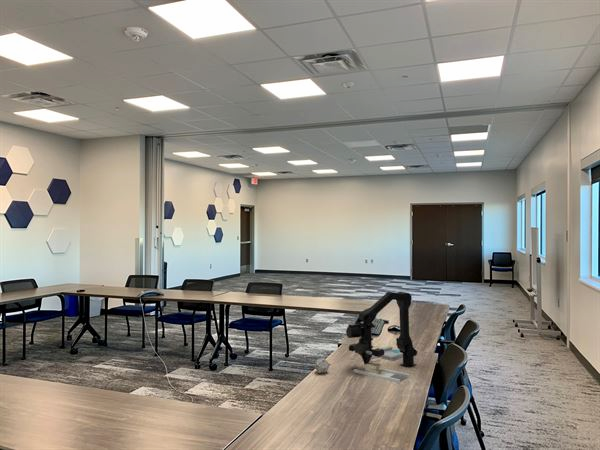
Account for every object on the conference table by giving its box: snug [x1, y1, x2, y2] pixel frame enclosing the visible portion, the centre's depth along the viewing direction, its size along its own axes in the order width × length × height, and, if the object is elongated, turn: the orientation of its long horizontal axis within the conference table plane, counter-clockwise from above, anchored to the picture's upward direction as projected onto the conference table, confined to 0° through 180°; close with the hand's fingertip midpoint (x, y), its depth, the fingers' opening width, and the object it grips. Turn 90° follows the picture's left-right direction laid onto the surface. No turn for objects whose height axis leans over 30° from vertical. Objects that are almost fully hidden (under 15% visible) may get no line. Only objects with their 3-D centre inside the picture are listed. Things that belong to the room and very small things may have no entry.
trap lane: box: [353, 367, 411, 384], centre depth 218 cm, size 11×26×2 cm, turn 48°
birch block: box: [364, 361, 383, 374], centre depth 221 cm, size 6×6×4 cm
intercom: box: [371, 345, 403, 362], centre depth 249 cm, size 13×4×25 cm
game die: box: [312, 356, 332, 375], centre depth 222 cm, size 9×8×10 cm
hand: (366, 366), depth 224 cm, fingers closed
